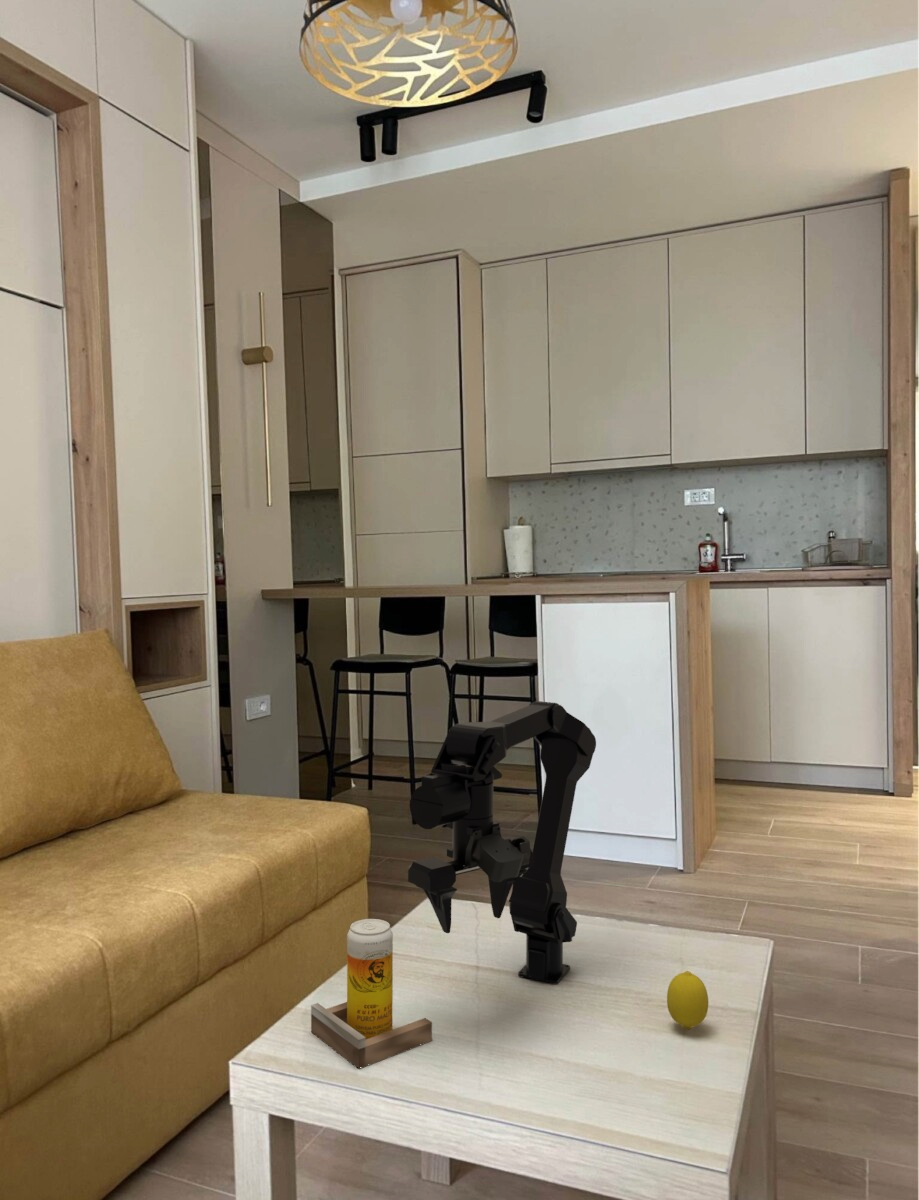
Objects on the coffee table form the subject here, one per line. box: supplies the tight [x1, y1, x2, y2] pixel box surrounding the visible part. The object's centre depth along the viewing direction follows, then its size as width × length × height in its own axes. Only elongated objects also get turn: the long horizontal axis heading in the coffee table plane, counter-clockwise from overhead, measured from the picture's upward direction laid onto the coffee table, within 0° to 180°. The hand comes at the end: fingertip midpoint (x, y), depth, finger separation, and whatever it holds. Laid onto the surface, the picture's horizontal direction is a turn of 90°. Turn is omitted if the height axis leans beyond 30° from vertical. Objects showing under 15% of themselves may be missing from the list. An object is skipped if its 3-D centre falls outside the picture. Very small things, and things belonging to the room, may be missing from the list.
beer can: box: [346, 918, 394, 1040], centre depth 122 cm, size 6×6×15 cm
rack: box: [310, 1001, 433, 1069], centre depth 122 cm, size 12×12×4 cm
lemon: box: [666, 970, 709, 1031], centre depth 124 cm, size 6×6×8 cm
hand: (472, 924), depth 128 cm, fingers open, 9 cm apart
